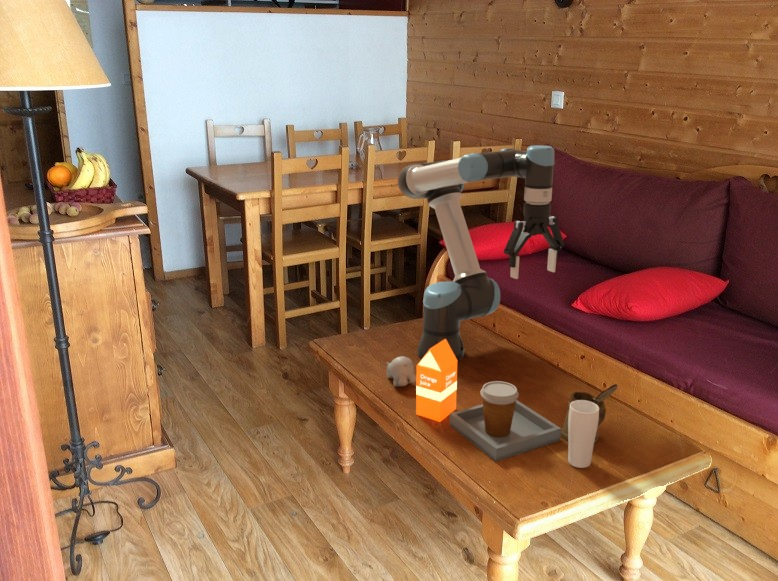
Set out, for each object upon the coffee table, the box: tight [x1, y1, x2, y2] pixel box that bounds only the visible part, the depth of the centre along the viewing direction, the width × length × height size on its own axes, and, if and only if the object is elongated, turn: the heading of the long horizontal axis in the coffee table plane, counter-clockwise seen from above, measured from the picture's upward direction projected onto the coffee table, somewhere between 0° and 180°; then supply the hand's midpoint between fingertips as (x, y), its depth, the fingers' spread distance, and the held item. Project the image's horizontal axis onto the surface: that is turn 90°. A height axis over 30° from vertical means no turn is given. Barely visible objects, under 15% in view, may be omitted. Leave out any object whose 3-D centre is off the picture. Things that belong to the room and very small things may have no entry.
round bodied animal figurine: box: [385, 355, 417, 388], centre depth 207 cm, size 7×12×8 cm, turn 30°
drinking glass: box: [567, 400, 599, 469], centre depth 164 cm, size 7×7×15 cm
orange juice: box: [415, 339, 458, 423], centre depth 187 cm, size 8×9×20 cm
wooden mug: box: [560, 384, 618, 443], centre depth 173 cm, size 9×14×18 cm, turn 37°
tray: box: [449, 399, 562, 463], centre depth 179 cm, size 20×20×4 cm
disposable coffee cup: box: [479, 380, 520, 437], centre depth 176 cm, size 10×10×12 cm
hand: (532, 274), depth 203 cm, fingers open, 13 cm apart
